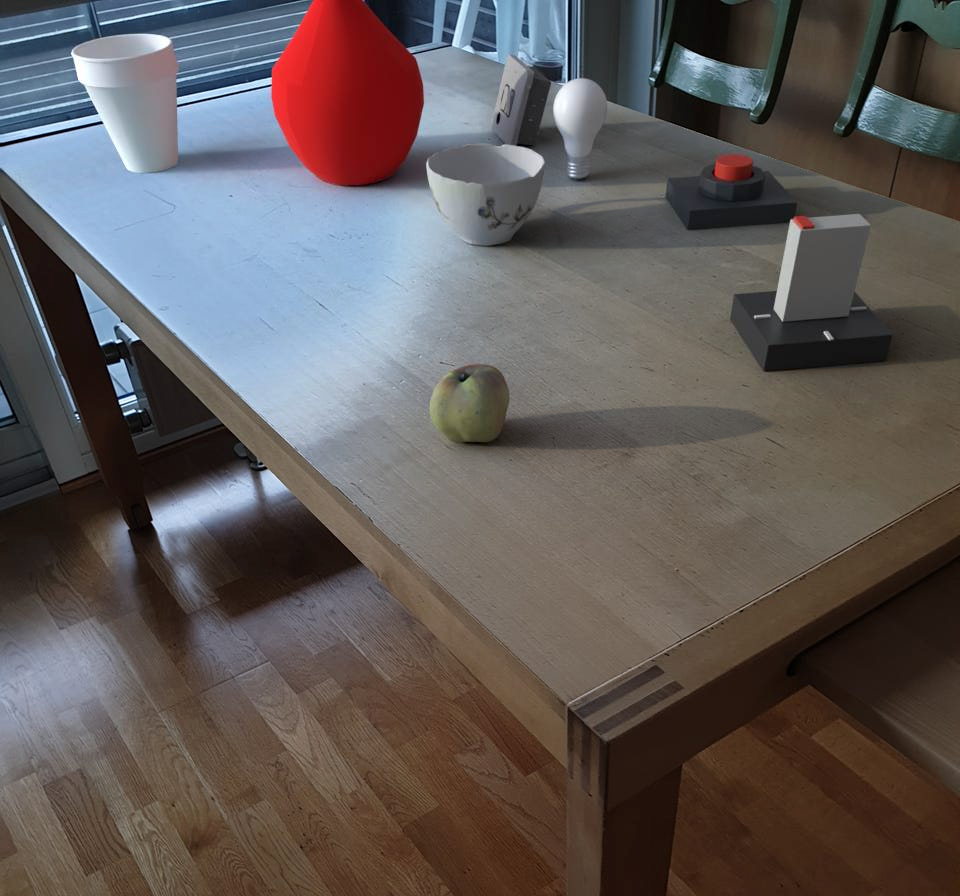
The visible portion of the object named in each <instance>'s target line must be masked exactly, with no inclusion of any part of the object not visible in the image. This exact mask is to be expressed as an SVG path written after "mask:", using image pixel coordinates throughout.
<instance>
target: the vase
mask: <svg viewBox="0 0 960 896" xmlns="http://www.w3.org/2000/svg"><path fill="white" fill-rule="evenodd" d="M422 78H423V77H422V74H421V70H420V67H419V63H418V60H417V57H415V56H414V55H413V53H411V52H410V51H409V49H408V48H407V47H406V46H405V45H404V44H403V43H402V42H401V41H400V40H399V39H398V38H397V37H396V36H395V35H394V34H393V33H392V32H391V31H390V30H389V29H388V28H387V27H386V26H385V25H384V23H383V22H382V21H381V20H380V18H379V17H378V16H377V15H376V14H375V13H374V12H373V10H372V9H371V7H370V6H369V5H367V3H366V2H365V1H364V0H312V3H311V4H310V6H309V8H308V9H307V11H306V13H305V15H304V17H303V18H302V21H301V22H300V23H299V25H298V27H297V29H296V31H295V33H294V35H293V36H292V38H291V39H290V40H289V42H288V44H287V45H286V47H285V49H284V50H283V51H282V53H281V55H280V56H279V58H278V59H277V61H276V62H275V64H274V65H273V67H272V68H271V88H270V89H271V91H270V94H271V95H270V97H271V103H272V109H273V113H274V117H275V120H276V121H277V123H278V125H279V128H280V130H281V132H282V134H283V136H284V138H285V140H286V142H287V144H288V147H289V148H290V150H291V151H292V152H293V153H294V154H295V155H296V157H297V158H298V160H299V161H300V162H301V163H302V164H303V166H304V167H305V168H306V169H307V170H308V171H309V172H311V174H313V175H314V176H315V177H317V179H319V180H321V181H323V182H325V183H327V184H332V185H336V184H337V186H346V185H355V186H364V185H370V183H371V184H374V183H375V184H376V183H378V182H381V181H384V180H387V179H388V178H390V177H392V176H393V175H395V173H396V172H397V171H398V170H399V169H400V168H401V166H402V165H403V164H404V163H405V161H406V160H407V157H408V156H409V153H410V151H411V150H412V147H413V145H414V143H415V141H416V138H417V137H418V133H419V128H420V125H421V124H420V123H421V120H422V115H423V110H424V106H425V96H424V95H425V93H424V91H425V90H424V83H423V79H422Z"/></svg>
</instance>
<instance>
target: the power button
mask: <svg viewBox="0 0 960 896" xmlns="http://www.w3.org/2000/svg"><path fill="white" fill-rule="evenodd" d="M715 164H716V166H715V174H714V177H716V178H719V179H722V180H730V181H739V180H746V179H749V178H751V173H752V166H754V159H753V158H751V157H749V156H747V155H745V154H744V155H743V154H738V153H737V154H736V153H731V154H723V155H720V156H718V157H717V158H716V160H715Z"/></svg>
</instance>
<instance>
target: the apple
mask: <svg viewBox="0 0 960 896" xmlns="http://www.w3.org/2000/svg"><path fill="white" fill-rule="evenodd" d="M510 400H511V397H510V389H509V386H508V383H507V381H506V378H505V376H504V375H503V373H502V372H501V371H500V370H499V369H498V368H497V367H495V366H493V365H490V364H484V363H483V364H482V363H477V364H467V365H464V366H460V367H458V368H455V369H453V370H450V371H449V372H447V373H446V374H445V375H444V376H443V377H442V379H441V380H440V381H439V382H438V384H437V385H436V386H435V388H434V389H433V392H432V394H431V396H430V399H429V410H428V411H429V416H430V420H431V422H432V424H433V425H434V426H433V427H435V429H437V431H438V432H439V433H440V434H441V435H442V436H443V437H445V439H446V440H448V441H450V442H453V443H467V442H469V443H474V442H475V443H476V442H479V443H489V442H492V441H494V440H495V439H496V438H497V437H499V435H500V433H501V432H502V430H503V427H504V425H505V423H506V418H507V413H508V409H509V405H510Z"/></svg>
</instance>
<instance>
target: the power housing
mask: <svg viewBox="0 0 960 896" xmlns="http://www.w3.org/2000/svg"><path fill="white" fill-rule="evenodd" d="M715 166H716V163H713V164H710V165H707V166H704V167H703V169H702V170H701V171H700V173H699V175H695V176H683V177H681V176H680V177H668V178H667V179H666V188H665V199H666V200H667V202H668V204H669V205H670V206H671V208H672V210H673V211H674V213H675V214H676V216H677V217H678V218H679V220H680V221H681V223H682V225H683V226H684V227H685V229H686V230H687V232H689V231H701V230H712V229H713V230H714V229H727V228H737V227H750V226H763V225H777V224H790V220H791V219H794V217H796V212H797V208H798V202H797V201H796V199H795V198H794V197H793V196H792V195H791V194H790V192H788V190H787V189H786V188H785V187H784V186H783V185H782V184H781V183H780V182H779V181H778V180H777V179H776V178H775V176H774V175H773V174H772V173H771V172H770V171H769V170H764V171H763V169H762V168H761V167H758V166H755V165H753V166H752V173H751V178H749V179H746V180H739V181H730V180H722V179H719V178H716V177H714V174H715Z"/></svg>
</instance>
